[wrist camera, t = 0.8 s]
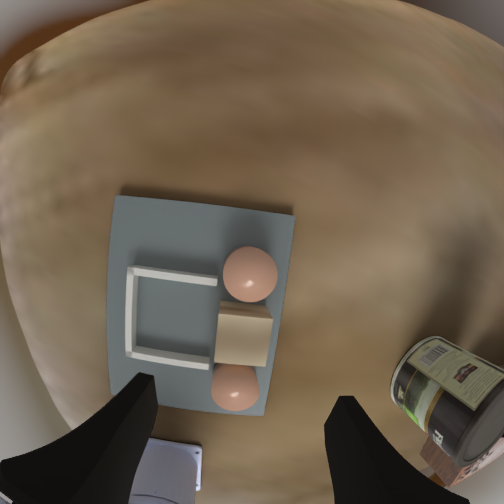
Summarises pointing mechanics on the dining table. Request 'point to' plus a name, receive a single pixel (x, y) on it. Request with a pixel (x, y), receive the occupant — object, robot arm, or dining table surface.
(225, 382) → the pink rounded cylinder
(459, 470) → the tissue box cover
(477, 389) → the coffee can
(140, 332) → the slate board
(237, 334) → the maple cube
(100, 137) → the dining table surface
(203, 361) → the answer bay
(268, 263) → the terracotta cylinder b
